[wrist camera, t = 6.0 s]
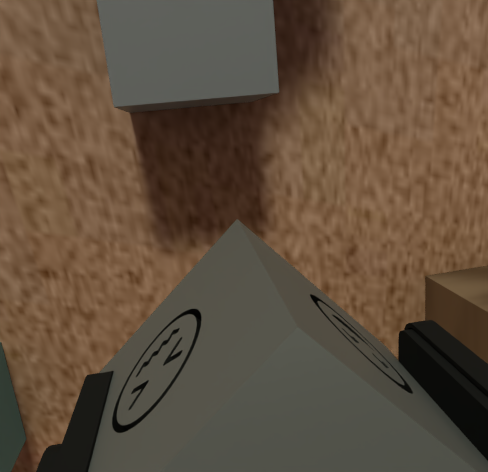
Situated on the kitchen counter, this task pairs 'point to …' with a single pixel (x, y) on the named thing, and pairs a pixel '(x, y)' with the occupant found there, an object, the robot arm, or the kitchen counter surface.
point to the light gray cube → (188, 52)
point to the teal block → (9, 420)
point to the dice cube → (266, 382)
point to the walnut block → (461, 306)
